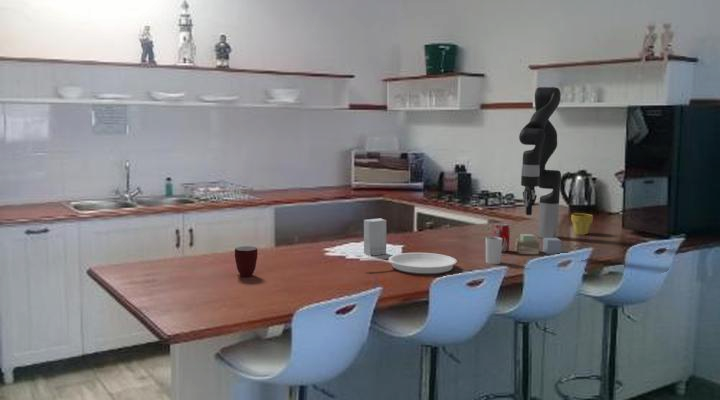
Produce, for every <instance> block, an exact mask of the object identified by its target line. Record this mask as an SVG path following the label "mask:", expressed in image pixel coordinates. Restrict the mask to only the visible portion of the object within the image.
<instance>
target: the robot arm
mask: <svg viewBox="0 0 720 400" xmlns="http://www.w3.org/2000/svg"><path fill="white" fill-rule="evenodd" d="M561 96H562V95H561V90H560V88H558V87H555V86H553V87H552V86H551V87H550V86H547V87H545V86H541V87H539V86H538V87H537V88H536V89H535V92H534V105H535V112H534V113H533V114H532V115H531V118H530V120H529V122H528V123H527V124H525V126H524V127H523V128H522V129H521V130H520V133H519V135H518V138H519V139H518V140H519V142H520V143H521V144H522V145H526V146H534V148H533V149H529V150H525V151H524V152H523V153H522V165H521V166H522V167H521V177H520V179H521V181H520V185H521V186H522V187H524V189H523V191H522V197H523V198H522V199H523V204H524V205H525V215H527V216H531V215H533V214H532V213H533V206H535V203H536V200H537V196H538V195H537V194H536V190H535V189H536V188H537V187H538V188H540V189H546V190H547V189H548V190H552V191H551V192H550V193H548V194H545V195H541V196H540V197H539V208H538V209H539V211H538V228H537V229H538V230H537V237H538V238H541V239H543V238H558V231H559V230H558V229H559V215H560V214H559V209H560V193H561V183H562V173H561V171H560V170H557V169H556V170H555V169H546V165H547V162H548V161H549V160H550V158H551V156H552V155H553V153H555V151H556V149H557V148H558V133H557V130H556V128H555V126H554V125H553V124H552V122H551V121H550V120H549V119H550V118H551V116H552V115H553V114H554V113H555V111H556V109H558V107H559V105H560V102H561Z"/></svg>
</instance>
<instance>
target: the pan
mask: <svg viewBox="0 0 720 400" xmlns="http://www.w3.org/2000/svg"><path fill="white" fill-rule="evenodd" d="M359 261H360V262H367V261H377V262H378V261H379V262H383V263H388V264H391V265H392V268H393V269H395V270H396V271H399V272H402V273H406V274H413V275H438V274H440V275H441V274H444V273H445V274H446V273H448V272H450V271H451V270H452V269H453V268H454V265H456V264H457V262H458V260H457V259H456V258H455V257H453V256H449V255H446V254H441V253H440V254H439V253H434V252H433V253H432V252H404V253H398V254H394V255H391V256H390V257H388V259H387V260H385V259H381V258H369V257H368V258H367V257H366V258H360V259H359Z"/></svg>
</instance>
